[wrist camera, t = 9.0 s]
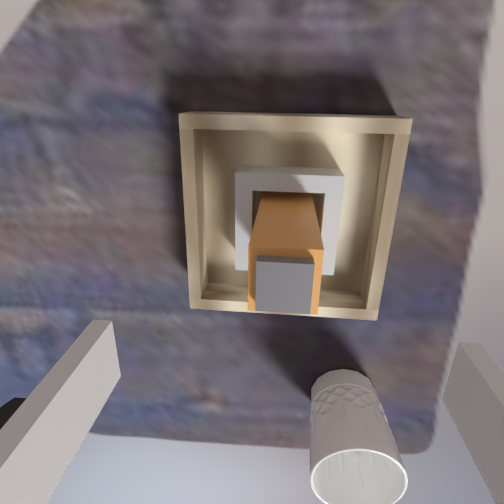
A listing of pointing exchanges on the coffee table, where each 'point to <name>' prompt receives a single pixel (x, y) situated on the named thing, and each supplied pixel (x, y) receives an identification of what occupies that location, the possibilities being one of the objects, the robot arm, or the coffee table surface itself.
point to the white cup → (352, 443)
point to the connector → (285, 255)
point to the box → (300, 155)
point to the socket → (288, 181)
